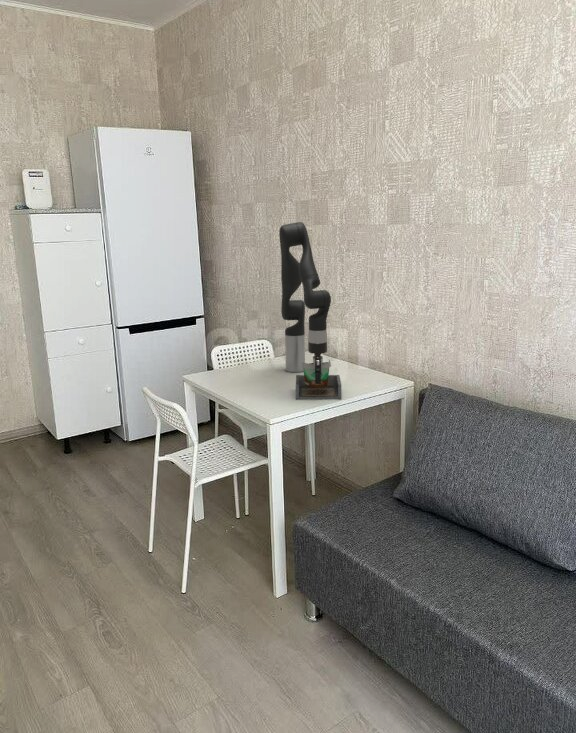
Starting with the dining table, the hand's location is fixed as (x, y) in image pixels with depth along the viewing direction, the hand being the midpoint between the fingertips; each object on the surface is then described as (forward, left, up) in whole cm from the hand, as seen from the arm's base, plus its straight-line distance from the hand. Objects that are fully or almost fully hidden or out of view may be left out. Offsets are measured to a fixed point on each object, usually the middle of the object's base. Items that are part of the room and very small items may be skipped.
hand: (317, 381), depth 243 cm
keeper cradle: (-1, 0, -6) cm, 6 cm away
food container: (+1, 0, -2) cm, 2 cm away
